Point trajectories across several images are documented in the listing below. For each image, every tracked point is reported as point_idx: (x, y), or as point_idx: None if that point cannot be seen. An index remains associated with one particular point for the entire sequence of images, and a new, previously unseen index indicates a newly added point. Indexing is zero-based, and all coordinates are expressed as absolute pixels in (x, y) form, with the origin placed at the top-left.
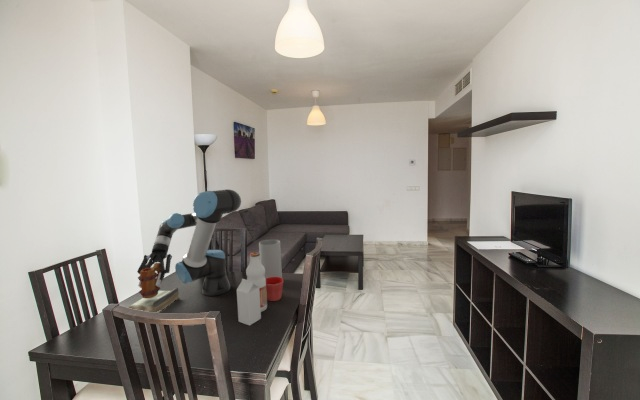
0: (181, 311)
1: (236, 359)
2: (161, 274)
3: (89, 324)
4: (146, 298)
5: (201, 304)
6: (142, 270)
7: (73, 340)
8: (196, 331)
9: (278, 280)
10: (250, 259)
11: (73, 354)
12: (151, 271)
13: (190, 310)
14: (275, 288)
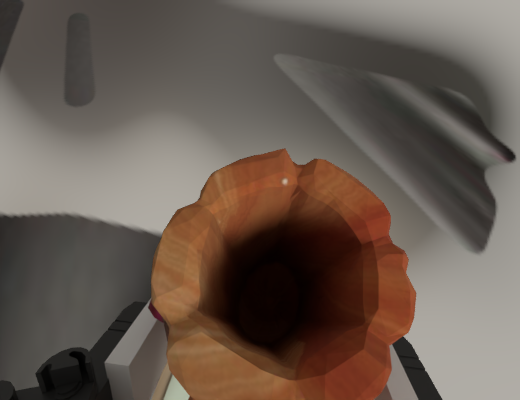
0: (119, 235)
1: (16, 15)
2: (114, 352)
3: (458, 206)
4: None
5: (26, 288)
6: (370, 253)
7: (418, 122)
8: (76, 102)
9: None
10: None
11: (360, 71)
12: (192, 206)
13: (82, 236)
14: None
